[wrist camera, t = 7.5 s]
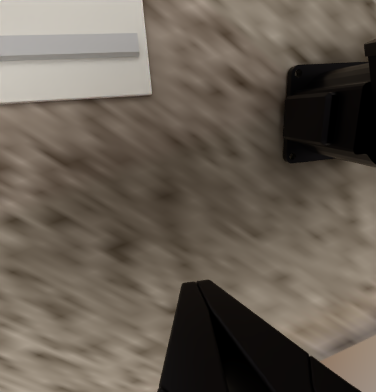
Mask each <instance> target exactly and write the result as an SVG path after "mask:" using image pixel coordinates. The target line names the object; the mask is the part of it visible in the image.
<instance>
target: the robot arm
mask: <svg viewBox="0 0 376 392" xmlns="http://www.w3.org/2000/svg"><path fill="white" fill-rule="evenodd" d="M364 49H365V56H368V61H369V62H354V63H331V64H309V65H297V66H294V67H292V68H291V69H290V70H289V73H288V84H287V98H286V100H285V112H284V129H283V136H284V152H283V158H284V160H285V161H286V162H288V163H299V162H308V161H316V160H325V159H333V158H338V159H342V160H346V161H350V162H355V163H359V164H363V165H368V166H372V167H376V39H374V40H372V41H370V42H368V43H365V44H364ZM296 70H297V71H298V76H297V77H296V76H295V71H296ZM290 154H292V155H293V156H292V158H291V159H290V158H289V156H290ZM157 392H361V391H360V390H358V389H357V388H355V387H354V386H352V385H351V384H349V383H348V382H347V381H345V380H344V379H342V378H341V377H340V376H338V375H337V374H335V373H334V372H333V371H331V370H330V369H329V368H327V367H326V366H325V365H323V364H322V363H320V362H319V361H318V360H316V359H315V358H314V357H312V356H310V357H309V354H308V353H307V352H306V351H304V350H303V349H302V348H300V347H299V346H298V345H296V344H295V343H294V342H292V341H291V340H290V339H288V338H287V337H286V336H284V335H283V334H282V333H280V332H279V331H277V330H276V329H275V328H273V327H272V326H271V325H269V324H268V323H267V322H265V321H264V320H263V319H261V318H260V317H259V316H257V315H256V314H255V313H253V312H252V311H251V310H249V309H248V308H247V307H245V306H244V305H243V304H241V303H240V302H239V301H237V300H236V299H235V298H233V297H232V296H231V295H229V294H228V293H227V292H225V291H224V290H223V289H221V288H220V287H219V286H217V285H216V284H215V283H213V282H212V281H211V280H202V281H197V282H187V283H183V284H182V286H181V290H180V294H179V299H178V303H177V308H176V312H175V317H174V321H173V326H172V330H171V334H170V339H169V343H168V348H167V352H166V357H165V361H164V366H163V370H162V374H161V379H160V383H159V389H158V391H157Z"/></svg>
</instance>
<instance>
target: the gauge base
mask: <svg viewBox="0 0 376 392" xmlns="http://www.w3.org/2000/svg"><path fill="white" fill-rule="evenodd" d="M151 94H152V88H151V79H150V69H149V60H148V50H147V41H146V31H145V22H144V12H143V3H142V0H0V104H14V103H31V102H47V101H63V100H80V99H96V98H113V97H129V96H146V95H151Z"/></svg>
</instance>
